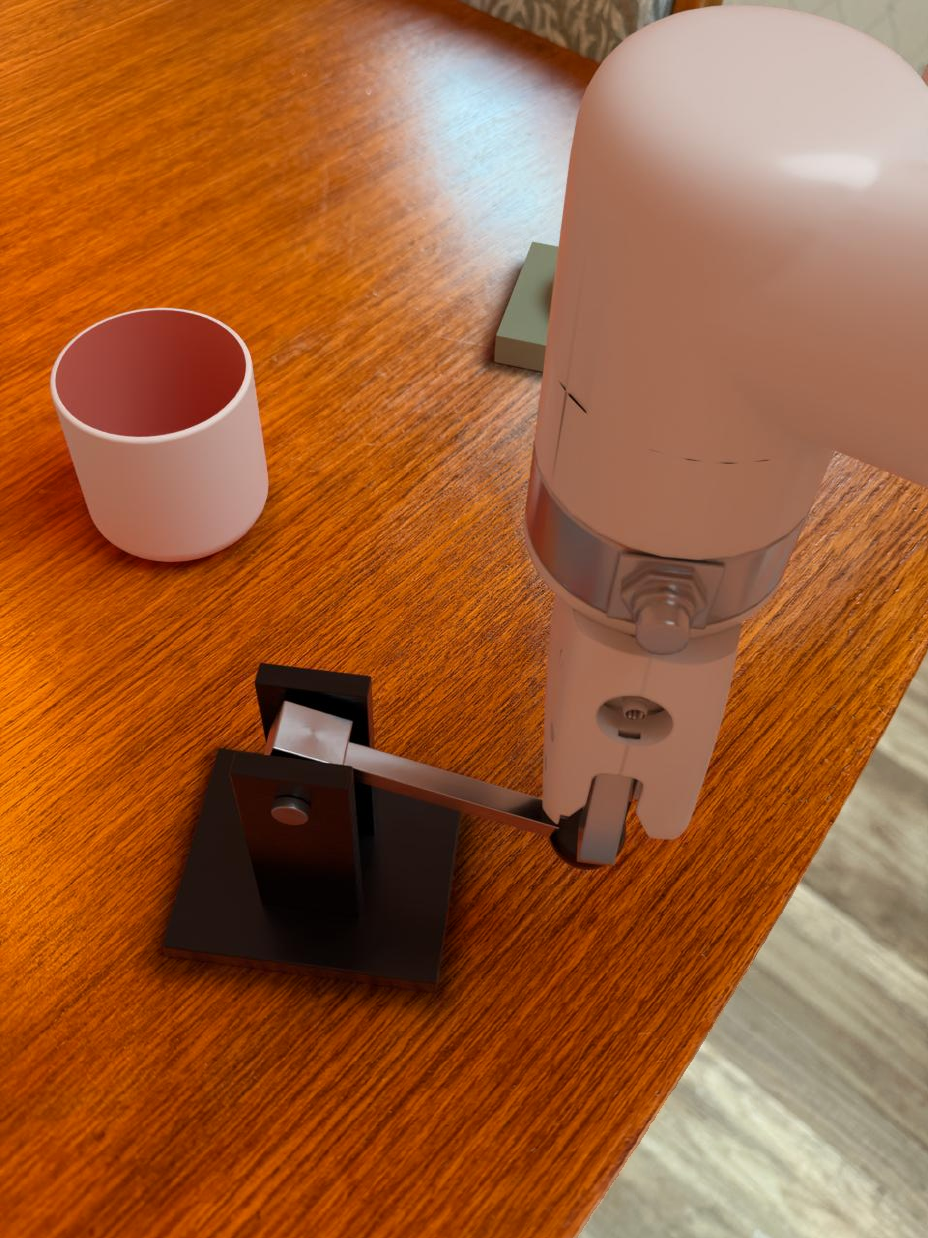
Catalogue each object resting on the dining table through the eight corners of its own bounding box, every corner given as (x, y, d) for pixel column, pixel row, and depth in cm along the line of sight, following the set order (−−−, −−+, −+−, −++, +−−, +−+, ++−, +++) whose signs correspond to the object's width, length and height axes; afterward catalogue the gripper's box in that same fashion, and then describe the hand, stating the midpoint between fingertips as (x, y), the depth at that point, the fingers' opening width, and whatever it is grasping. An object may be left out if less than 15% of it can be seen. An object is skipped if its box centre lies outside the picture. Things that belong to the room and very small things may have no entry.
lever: (607, 821, 51) (641, 790, 49) (603, 890, 50) (638, 861, 47) (270, 721, 48) (289, 683, 46) (252, 791, 46) (271, 755, 44)
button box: (702, 302, 81) (715, 252, 77) (679, 400, 75) (691, 351, 72) (529, 268, 82) (534, 217, 79) (493, 362, 76) (497, 311, 73)
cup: (93, 584, 65) (48, 452, 57) (91, 452, 70) (49, 316, 62) (279, 560, 66) (261, 428, 58) (261, 433, 72) (243, 297, 64)
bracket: (465, 790, 58) (476, 635, 48) (437, 993, 52) (443, 866, 42) (221, 759, 58) (180, 599, 48) (165, 957, 53) (105, 822, 42)
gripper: (814, 750, 28) (672, 1009, 43) (790, 337, 37) (679, 669, 52) (499, 709, 29) (465, 980, 43) (550, 309, 38) (507, 647, 52)
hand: (582, 810), depth 48 cm, fingers closed
